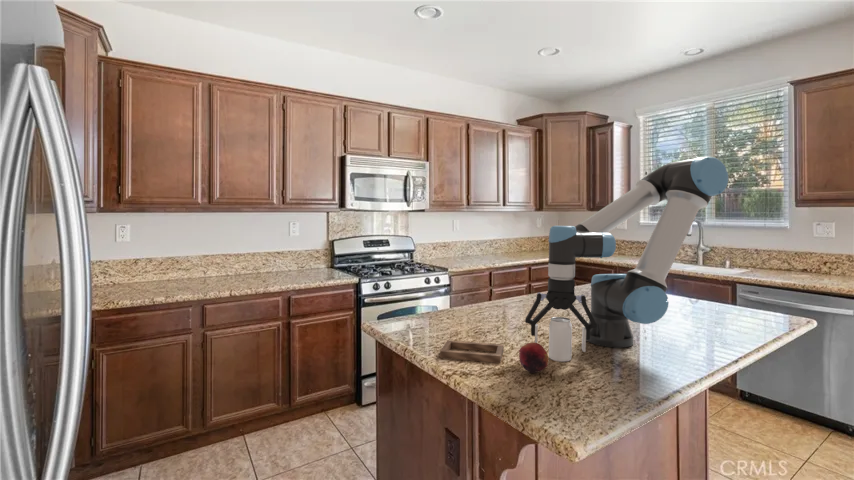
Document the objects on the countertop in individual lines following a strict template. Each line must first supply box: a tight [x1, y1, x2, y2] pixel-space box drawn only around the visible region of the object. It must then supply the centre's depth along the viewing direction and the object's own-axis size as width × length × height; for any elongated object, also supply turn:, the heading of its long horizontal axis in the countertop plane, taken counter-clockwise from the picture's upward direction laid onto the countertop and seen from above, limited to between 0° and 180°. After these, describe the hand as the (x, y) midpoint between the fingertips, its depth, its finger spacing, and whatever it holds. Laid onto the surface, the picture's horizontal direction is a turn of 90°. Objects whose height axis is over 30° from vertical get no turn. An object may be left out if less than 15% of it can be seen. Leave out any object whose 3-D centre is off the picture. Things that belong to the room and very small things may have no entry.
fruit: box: [518, 341, 549, 374], centre depth 112 cm, size 8×8×8 cm
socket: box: [439, 340, 504, 364], centre depth 127 cm, size 18×11×2 cm, turn 75°
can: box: [548, 316, 573, 363], centre depth 122 cm, size 6×6×12 cm
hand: (559, 348), depth 122 cm, fingers open, 13 cm apart
